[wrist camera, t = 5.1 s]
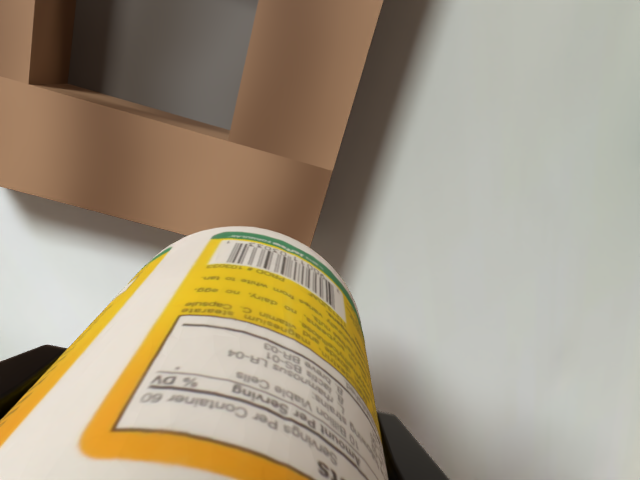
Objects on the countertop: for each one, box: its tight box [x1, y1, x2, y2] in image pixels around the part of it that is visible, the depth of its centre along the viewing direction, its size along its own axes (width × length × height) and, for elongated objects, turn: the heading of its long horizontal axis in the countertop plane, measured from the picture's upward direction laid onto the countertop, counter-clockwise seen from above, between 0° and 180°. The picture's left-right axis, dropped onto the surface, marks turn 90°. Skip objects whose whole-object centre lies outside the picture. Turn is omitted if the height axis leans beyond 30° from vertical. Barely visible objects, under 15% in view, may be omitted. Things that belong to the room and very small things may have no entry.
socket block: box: [0, 0, 383, 248], centre depth 16 cm, size 14×14×4 cm
